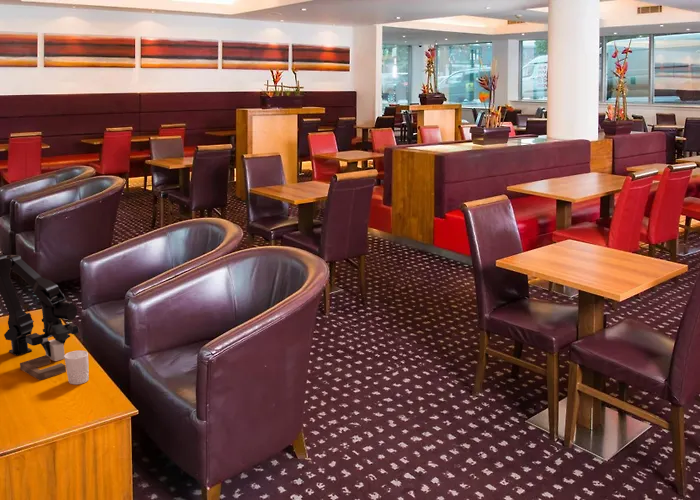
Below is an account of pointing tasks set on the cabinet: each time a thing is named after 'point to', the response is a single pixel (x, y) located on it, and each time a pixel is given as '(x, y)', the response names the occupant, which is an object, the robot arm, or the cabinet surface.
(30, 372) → the notched board
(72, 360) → the white cup
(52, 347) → the block
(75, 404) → the cabinet surface
